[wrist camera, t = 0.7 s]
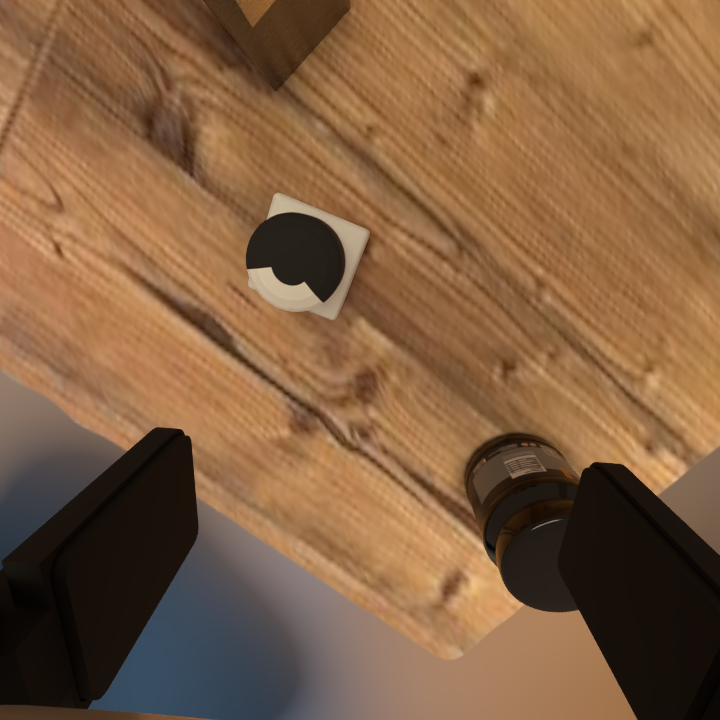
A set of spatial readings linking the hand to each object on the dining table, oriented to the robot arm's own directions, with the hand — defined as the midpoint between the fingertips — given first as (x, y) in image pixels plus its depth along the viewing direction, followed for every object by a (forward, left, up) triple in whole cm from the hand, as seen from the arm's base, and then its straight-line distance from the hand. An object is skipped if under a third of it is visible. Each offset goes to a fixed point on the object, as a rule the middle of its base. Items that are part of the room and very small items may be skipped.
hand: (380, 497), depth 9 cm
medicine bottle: (+1, -7, -28) cm, 29 cm away
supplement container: (+1, +23, -28) cm, 37 cm away
